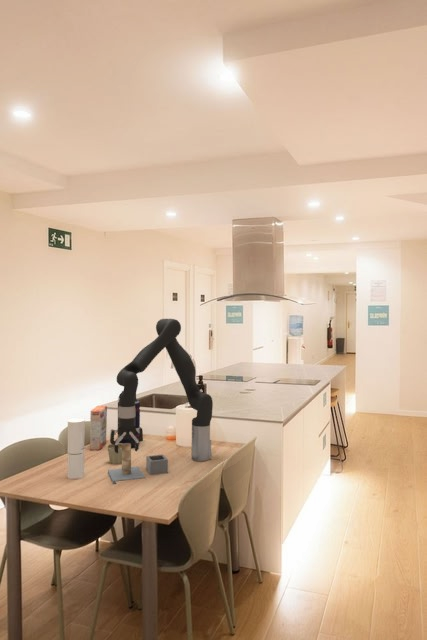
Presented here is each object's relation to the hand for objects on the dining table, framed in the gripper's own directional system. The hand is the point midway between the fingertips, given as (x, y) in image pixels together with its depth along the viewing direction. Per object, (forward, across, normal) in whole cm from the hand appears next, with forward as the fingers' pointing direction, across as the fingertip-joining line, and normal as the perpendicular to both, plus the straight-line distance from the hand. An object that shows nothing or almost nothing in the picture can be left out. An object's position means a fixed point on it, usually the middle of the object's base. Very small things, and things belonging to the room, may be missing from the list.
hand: (126, 451), depth 212 cm
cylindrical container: (+11, +21, -8) cm, 25 cm away
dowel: (+10, 0, 0) cm, 10 cm away
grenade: (+11, -10, -46) cm, 48 cm away
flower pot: (+11, +1, -19) cm, 22 cm away
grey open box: (+11, -14, 0) cm, 18 cm away
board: (+11, 0, 0) cm, 11 cm away
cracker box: (+11, +5, -50) cm, 52 cm away
